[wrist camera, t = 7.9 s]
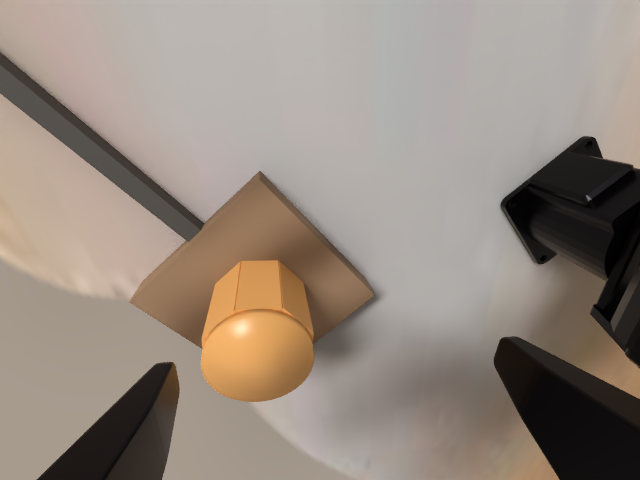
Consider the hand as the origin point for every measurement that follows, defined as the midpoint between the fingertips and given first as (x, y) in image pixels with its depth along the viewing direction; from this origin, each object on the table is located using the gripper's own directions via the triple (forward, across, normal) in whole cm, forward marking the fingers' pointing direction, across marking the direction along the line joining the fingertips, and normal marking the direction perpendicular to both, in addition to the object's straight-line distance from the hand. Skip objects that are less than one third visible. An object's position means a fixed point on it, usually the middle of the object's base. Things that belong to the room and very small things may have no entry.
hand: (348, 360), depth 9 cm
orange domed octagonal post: (+10, +3, +4) cm, 11 cm away
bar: (+12, +12, -5) cm, 17 cm away
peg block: (+12, +3, +4) cm, 13 cm away
